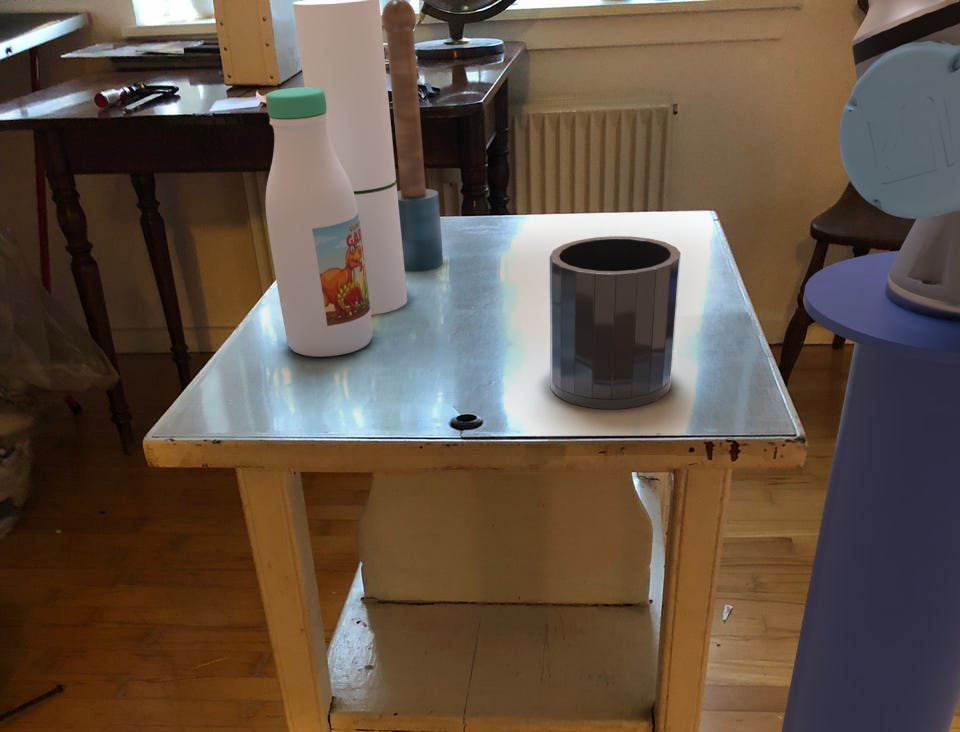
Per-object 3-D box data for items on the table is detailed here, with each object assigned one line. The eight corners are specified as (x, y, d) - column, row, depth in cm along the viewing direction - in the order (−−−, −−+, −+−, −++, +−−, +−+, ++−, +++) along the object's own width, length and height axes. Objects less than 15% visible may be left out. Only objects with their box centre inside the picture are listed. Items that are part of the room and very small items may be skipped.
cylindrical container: (381, 286, 100) (350, -5, 85) (421, 302, 95) (395, -3, 80) (321, 302, 97) (277, 3, 81) (359, 320, 92) (320, 5, 77)
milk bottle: (299, 365, 84) (255, 102, 71) (279, 337, 89) (235, 89, 77) (384, 349, 86) (356, 91, 74) (360, 322, 91) (329, 79, 79)
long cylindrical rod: (448, 256, 107) (431, -5, 92) (435, 271, 103) (415, 0, 89) (403, 255, 108) (379, -3, 94) (389, 270, 104) (361, 2, 90)
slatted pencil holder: (675, 364, 80) (685, 237, 74) (664, 412, 73) (673, 275, 66) (562, 359, 82) (562, 235, 76) (540, 405, 75) (538, 272, 69)
